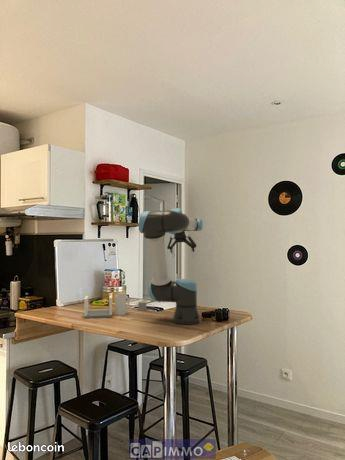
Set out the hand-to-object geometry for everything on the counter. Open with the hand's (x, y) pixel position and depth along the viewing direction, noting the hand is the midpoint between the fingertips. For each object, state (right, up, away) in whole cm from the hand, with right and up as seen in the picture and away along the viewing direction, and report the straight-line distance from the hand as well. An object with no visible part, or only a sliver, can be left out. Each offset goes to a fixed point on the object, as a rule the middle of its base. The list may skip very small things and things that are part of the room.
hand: (183, 255), depth 251 cm
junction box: (-28, -35, -14) cm, 46 cm away
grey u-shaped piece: (-52, -34, -33) cm, 71 cm away
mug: (-38, -34, -29) cm, 59 cm away
